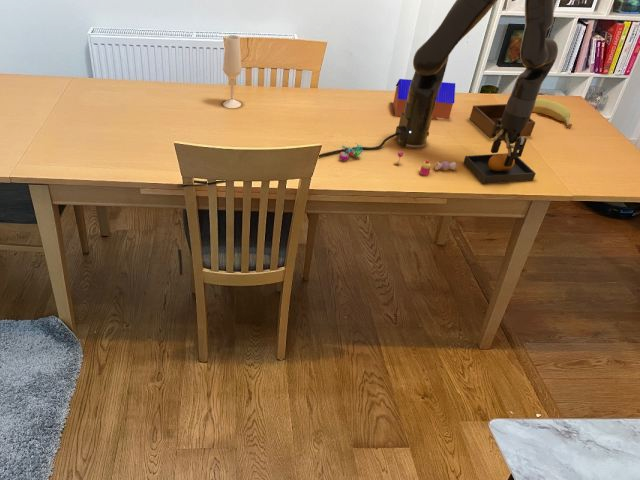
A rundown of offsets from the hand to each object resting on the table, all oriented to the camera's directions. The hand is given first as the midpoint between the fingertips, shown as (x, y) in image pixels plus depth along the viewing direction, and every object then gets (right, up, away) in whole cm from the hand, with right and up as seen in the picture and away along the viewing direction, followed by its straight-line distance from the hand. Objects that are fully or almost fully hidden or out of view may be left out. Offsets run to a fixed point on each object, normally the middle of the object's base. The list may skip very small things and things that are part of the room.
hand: (500, 159), depth 183 cm
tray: (0, -3, +3) cm, 5 cm away
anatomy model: (-47, +2, +7) cm, 47 cm away
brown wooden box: (+11, +17, +27) cm, 33 cm away
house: (-15, +25, +35) cm, 46 cm away
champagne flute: (-86, +28, +34) cm, 96 cm away
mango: (+1, -3, +3) cm, 4 cm away
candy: (-23, -3, +2) cm, 23 cm away
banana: (+31, +23, +35) cm, 52 cm away
